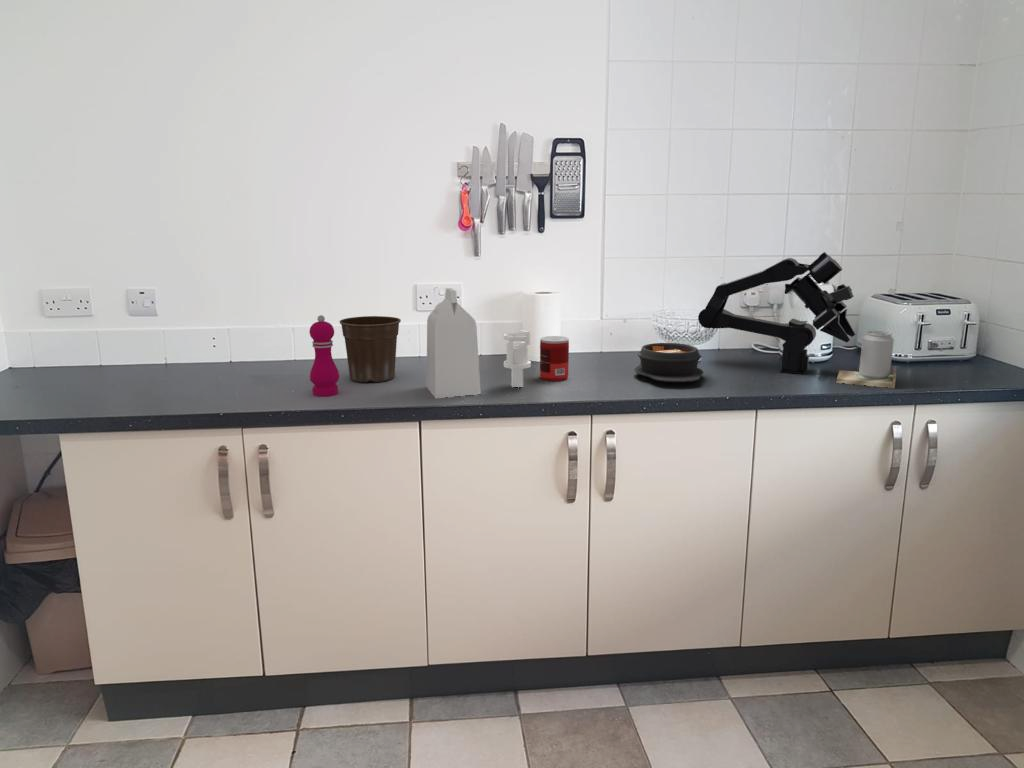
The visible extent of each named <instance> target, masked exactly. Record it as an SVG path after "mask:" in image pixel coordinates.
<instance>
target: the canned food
mask: <svg viewBox="0 0 1024 768" xmlns="http://www.w3.org/2000/svg"><path fill="white" fill-rule="evenodd" d="M569 350H570V340H569V338H568V337H566V336H561V335H549V336H542V337H540V341H539V375H540V379H541V380H542V381H547V382H561V381H566V380H567V379H568V377H569V364H570V363H569V361H570V359H569V357H570V351H569ZM565 379H566V380H565Z"/></svg>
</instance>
